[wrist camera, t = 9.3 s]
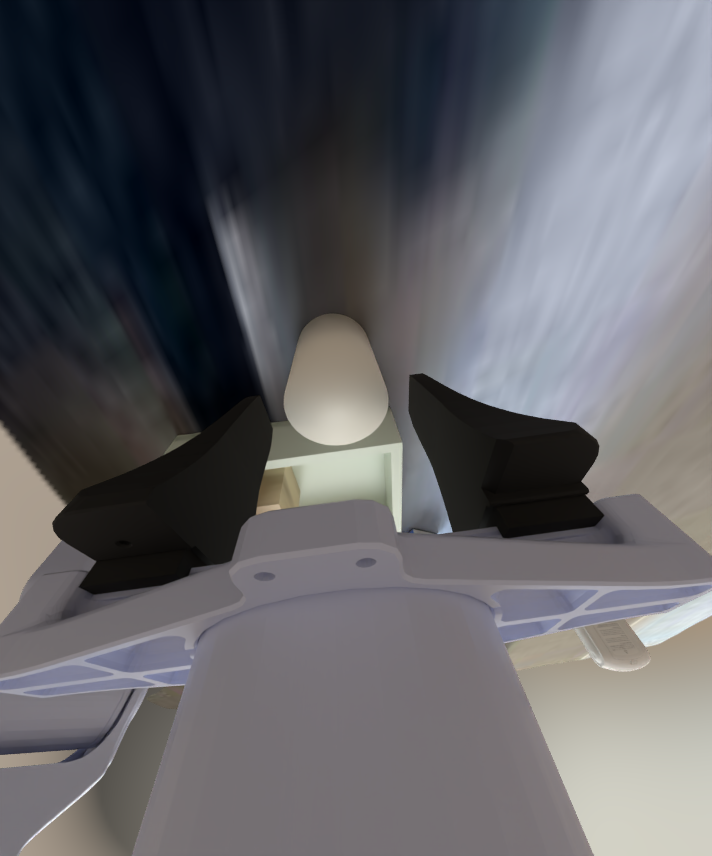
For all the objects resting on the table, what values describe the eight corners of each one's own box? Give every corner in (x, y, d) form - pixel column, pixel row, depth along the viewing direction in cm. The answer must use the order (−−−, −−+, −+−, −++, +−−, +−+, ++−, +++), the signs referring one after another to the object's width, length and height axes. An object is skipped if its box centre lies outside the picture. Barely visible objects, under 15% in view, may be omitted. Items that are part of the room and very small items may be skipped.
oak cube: (250, 497, 25) (236, 547, 21) (230, 462, 22) (209, 513, 18) (300, 491, 25) (295, 539, 21) (287, 455, 22) (278, 504, 18)
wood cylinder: (306, 387, 19) (298, 451, 14) (288, 319, 16) (269, 365, 11) (371, 378, 19) (389, 438, 14) (366, 308, 16) (387, 349, 11)
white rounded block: (553, 602, 59) (598, 676, 49) (562, 595, 56) (611, 672, 46) (596, 597, 59) (648, 669, 50) (606, 590, 57) (664, 664, 47)
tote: (240, 525, 29) (229, 565, 26) (177, 435, 21) (146, 477, 17) (392, 504, 29) (401, 541, 26) (389, 406, 21) (402, 442, 17)
